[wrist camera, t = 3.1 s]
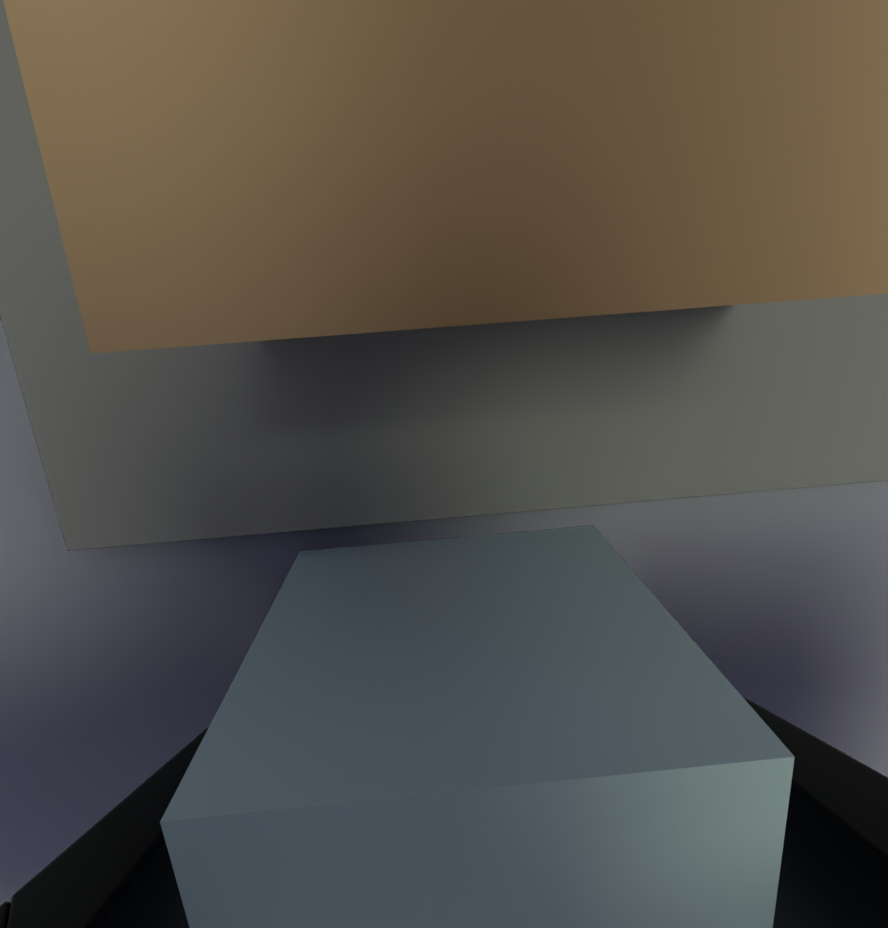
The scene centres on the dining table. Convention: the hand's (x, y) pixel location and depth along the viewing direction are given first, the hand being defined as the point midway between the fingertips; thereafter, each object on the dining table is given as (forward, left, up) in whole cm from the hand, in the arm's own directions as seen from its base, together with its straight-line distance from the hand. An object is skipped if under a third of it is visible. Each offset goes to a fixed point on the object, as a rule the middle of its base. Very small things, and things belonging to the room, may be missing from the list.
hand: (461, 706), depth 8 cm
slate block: (0, 0, -1) cm, 1 cm away
